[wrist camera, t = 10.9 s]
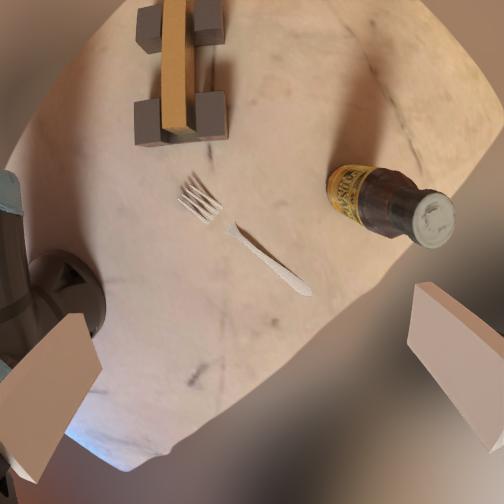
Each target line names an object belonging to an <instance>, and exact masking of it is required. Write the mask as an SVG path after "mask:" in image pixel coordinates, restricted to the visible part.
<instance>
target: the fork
mask: <svg viewBox="0 0 504 504" xmlns="http://www.w3.org/2000/svg"><path fill="white" fill-rule="evenodd" d="M189 186H191V187H192V188H193V189H194V190H196V191H197V192H198V193H199V194H201V195H202V196H204V197H205V198H207V199H208V200H210V201H211V202H213V203H214V204H215V205H217V206H218V207H219V208H220V209H222V208H223V206H222V205H221V204H220V203H219V202H217V201H216V200H214V199H213V198H211V197H210V196H208V195H207V194H205V193H204V192H202V191H201V190H199V189H197V188H196V187H194V186H192V185H191V184H189ZM185 190H186V191H187V192H188V193H190V194H191V195H192V196H193V197H194V198H196V199H197V200H198V201H200V202H201V203H203V204H204V205H205V206H207V207H208V208H209V209H211V210H212V211H213V212H214V213H215V214H218V213H219V210H217V209H215V208H214V207H213V206H211V205H210V204H208V203H207V202H205V201H204V200H203V199H201V198H200V197H198V196H197V195H195V194H194V193H192V192H191V191H189V190H187V189H185ZM181 195H182V196H183V197H185V198H186V199H187V200H188V201H189V202H190V203H192V204H193V205H194V206H196V207H197V208H198V209H199V210H201V211H202V212H203V213H205V214H206V215H207V216H208V217H209V218H210V219H211V220H213V219H214V215H211V214H210V213H209V212H208V211H206V210H205V209H204V208H202V207H201V206H200V205H198V204H197V203H196V202H194V201H193V200H191V199H190V198H188V197H187V196H185V195H184V194H182V193H181ZM177 199H178V200H179V201H180V202H181V203H182V204H183V205H185V206H186V207H187V208H188V209H189V210H190V211H192V212H193V213H194V214H195V215H197V216H198V217H199V218H200V219H201V220H202V221H204V222H205V223H206V224H209V223H210V222H209V221H208V220H206V219H205V218H204V217H203V216H202V215H201V214H199V213H198V212H197V211H195V210H194V209H193V208H192V207H190V206H189V205H188V204H186V203H185V202H184V201H182V200H181V199H179V198H177ZM224 233H225V234H228V235H232V236H234V237H235V238H237V239H238V240H239V241H241V242H242V243H243V244H244V245H246V246H247V247H248V248H249V249H250V250H252V251H253V252H254V253H255V254H256V255H258V256H259V257H260V258H261V259H262V260H263V261H264V262H266V263H267V264H268V265H269V266H270V267H271V268H272V269H273V270H274V271H275V272H276V273H277V274H278V275H279V276H280V277H282V278H283V279H284V280H285V281H286V282H287V283H288V284H289V285H290V286H292V287H293V288H294V289H295V290H296V291H297V292H298V293H300V294H302V295H303V296H309V297H310V296H312V291H311V289H310V287H309V286H308V285H307V284H306V283H305V282H304V281H302V280H301V279H300V278H298V277H297V276H296V275H294V274H293V273H292V272H290V271H289V270H288V269H286V268H285V267H283V266H282V265H280V264H279V263H277V262H276V261H274V260H273V259H271V258H270V257H269V256H267V255H266V254H264V253H263V252H262V251H260V250H259V249H258V248H256V247H255V246H254V245H253V244H251V243H250V242H249V241H248V240H247V239H246V238H245V237H244V236H243V235H242V234H241V233H240V231H239V230H238V228H237V225H236V222H235V221H233V222H232V224H231V225H230V226H229V227H228V228H227V229H226V231H225V232H224Z"/></svg>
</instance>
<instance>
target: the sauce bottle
mask: <svg viewBox="0 0 504 504" xmlns="http://www.w3.org/2000/svg"><path fill="white" fill-rule="evenodd" d="M326 192H327V195H328V199H329V201H330V203H331V205H332V206H333V207H334V208H335V209H336V210H337V211H338V212H340V213H342V214H343V215H345V216H347V217H349V218H350V219H352V220H354V221H355V222H357V223H358V224H360V225H362V226H363V227H365V228H366V229H368V230H370V231H372V232H375V233H378V234H380V235H383V236H385V237H388V238H391V239H392V238H395V237H397V236H400V235H402V234H406V235H408V236H409V238H410V239H411V240H412V241H413V242H415V243H417V244H419V245H421V246H423V247H426V248H429V249H431V248H437V247H440V246H441V245H443V244H444V243H445V242H446V241H448V239H449V238H450V236H451V235H452V233H453V230H454V227H455V218H456V213H455V208H454V205H453V204H452V202H451V200H450V199H449V198H448V197H447V196H446V195H445V194H443V193H441V192H438V191H436V190H432V189H429V190H428V189H425V190H419V189H418V187H417V186H416V184H415V183H414V182H413V181H412V180H411V179H410V178H408V177H406V176H405V175H404V174H402V173H401V172H399V171H395V170H394V171H392V170H389V169H386V168H379V167H370V166H361V165H345V166H342V167H339V168H338V169H336V170H334V171H333V172H332V173H331V175H330V177H329V179H328V181H327V186H326Z"/></svg>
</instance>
